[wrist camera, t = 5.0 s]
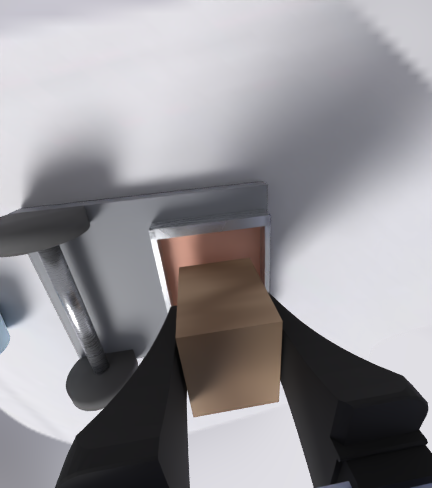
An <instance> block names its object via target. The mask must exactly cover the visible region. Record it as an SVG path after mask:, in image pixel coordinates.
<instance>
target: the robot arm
mask: <svg viewBox="0 0 432 488" xmlns="http://www.w3.org/2000/svg"><path fill="white" fill-rule="evenodd" d="M268 294H269V296H270V298H271V300H272V302H273V304H274V305H275V307H276V309H277V311H278V313H279V315H280V317H281V319H282V321H283V325H282V347H281V368H280V381H281V383H282V386H283V389H284V392H285V395H286V398H287V401H288V404H289V406H290V409H291V413H292V416H293V419H294V422H295V426H296V429H297V432H298V435H299V438H300V442H301V445H302V448H303V452H304V455H305V458H306V462H307V465H308V469H309V472H310V476H311V479H312V483H313V486H314V488H432V453H431V451H430V450H429V449H428V448H427V446H426V444H427V443H428V442H427V439H426V438H425V436H424V435H423V434H422V433H421V431H420V430H419V429H420V427H421V425H422V423H423V421H424V419H425V417H426V415H427V412H428V403H427V401H426V400H425V399H424V398H423V397H422V396H421V395H420V393H419V392H418V391H417V390H416V389H415V388H414V387H413V385H412V384H410V382H409V381H407V380H406V379H405V377H404V376H402V375H399V374H397V373H395V372H392V371H390V370H387V369H385V368H382V367H380V366H377V365H375V364H373V363H371V362H369V361H366V360H364V359H362V358H360V357H358V356H356V355H354V354H352V353H350V352H348V351H346V350H345V349H343V348H341V347H339V346H337V345H336V344H334V343H332V342H331V341H329V340H327V339H326V338H324V337H323V336H321V335H319V334H318V333H316V332H315V331H314V330H312V329H311V328H309V327H308V326H307V325H305V324H304V323H303V322H301V321H300V320H299V319H298V318H296V317H295V316H294V315H293V314H292V313H291V312H289V311H288V310H287V309H286V308H285V307H284V306H283V305H281V304H280V303H279V302H278V301H277V300H276V299H275V298H274V297H273V296H272V295H271V294H270V293H268ZM176 318H177V305H176V306H171V307H170V309H169V312H168V314H167V317H166V319H165V321H164V323H163V326H162V328H161V330H160V332H159V333H158V335H157V337H156V339H155V341H154V343H153V344H152V346H151V348H150V349H149V351H148V353H147V354H146V356H145V358H144V359H143V361H142V362H141V363H140V365H139V366H138V368H137V369H136V371H135V372H134V373H133V375H132V376H131V377H130V378H129V380H128V381H127V382H126V384H125V385H124V386H123V387H122V389H121V390H120V391H119V392H118V393H117V394H116V395H115V397H114V398H113V399H112V400H111V401H110V402H109V403H108V404H107V406H106V407H105V408H104V409H103V410H102V411H101V412H100V413H99V414H98V415H97V416H96V417H95V418H94V419H93V420H92V421H91V422H90V423H89V424H88V425H87V426H86V427H85V428H84V429H83V430H82V431H81V432H80V433H79V434H77V435H76V437H75V440H74V442H73V444H72V446H71V448H70V450H69V452H68V455H67V457H66V460H65V462H64V465H63V467H62V470H61V473H60V476H59V478H58V481H57V484H56V487H55V488H190V484H189V483H190V482H189V462H188V461H189V460H188V433H187V386H186V382H185V378H184V373H183V369H182V364H181V360H180V356H179V351H178V347H177V343H176Z"/></svg>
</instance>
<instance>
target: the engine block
mask: <svg viewBox="0 0 432 488" xmlns="http://www.w3.org/2000/svg"><path fill="white" fill-rule="evenodd" d="M282 325H283V321H282V319H281V317H280V315H279V313H278V311H277V309H276V307H275V305H274V304H273V302H272V300H271V298H270V296H269V294H268V292H267V290H266V288H265V286H264V284H263V282H262V281H261V279H260V277H259V275H258V273H257V271H256V269H255V267H254V265H253V263H252V261H251V259H250V258H243V259H236V260H228V261H221V262H214V263H207V264H199V265H192V266H185V267H179V278H178V298H177V318H176V343H177V347H178V351H179V356H180V360H181V364H182V369H183V373H184V378H185V382H186V386H187V391H188V395H189V399H190V404H191V408H192V412H193V417H198V416H204V415H209V414H215V413H220V412H226V411H231V410H237V409H242V408H248V407H253V406H259V405H264V404H270V403H275V402H279V389H280V368H281V347H282Z"/></svg>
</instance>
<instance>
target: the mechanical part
mask: <svg viewBox="0 0 432 488" xmlns="http://www.w3.org/2000/svg"><path fill="white" fill-rule="evenodd" d="M9 341H10V335H9V332H8V330H7V328H6V325H5V323H4V321H3V318H2V316H1V314H0V354H1V353H2V352H3V351H4V350H5V348H6V347H7V345H8V344H9Z"/></svg>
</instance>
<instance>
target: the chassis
mask: <svg viewBox="0 0 432 488" xmlns="http://www.w3.org/2000/svg"><path fill="white" fill-rule="evenodd" d="M270 224H271V215H270V214H269V213H268V212H267V184H266V183H264V182H253V183H244V184H235V185H226V186H217V187H208V188H200V189H191V190H182V191H173V192H164V193H155V194H146V195H137V196H129V197H120V198H111V199H102V200H93V201H84V202H75V203H67V204H58V205H49V206H40V207H31V208H22V209H18V210H16V211H14V212H12V213H9V214H8V215H5V216H2V217H0V257H10V256H18V255H24V254H28V255H29V258H30V260H31V262H32V264H33V266H34V268H35V270H36V272H37V274H38V276H39V278H40V280H41V282H42V284H43V286H44V288H45V290H46V292H47V294H48V296H49V298H50V300H51V302H52V304H53V306H54V308H55V310H56V312H57V314H58V316H59V318H60V320H61V322H62V324H63V326H64V328H65V330H66V332H67V334H68V336H69V338H70V340H71V342H72V344H73V346H74V348H75V350H76V352H77V354H78V356H79V358H80V359H79V360H78V361H77V363H76V364H75V365H74V366H73V368H72V369H71V371H70V373H69V375H68V377H67V381H66V390H67V393H68V395H69V396H70V398H71V400H72V401H73V403H74V405H75V406H76V407H78V408H79V409H81V410H85V411H96V410H100V409H103V408H105V407H106V406H107V404H108V403H109V402H110V401H111V400H112V399H113V398H114V397H115V395H116V394H117V393H118V392H119V391H120V390H121V389H122V387H123V386H124V385H125V384H126V382H127V381H128V380H129V378H130V377H131V376H132V375H133V373H134V372H135V371H136V369H137V368H138V362H137V359H136V358H142V357H145V356H146V354H147V353H148V351H149V349H150V348H151V346H152V344H153V343H154V341H155V339H156V337H157V335H158V333H159V332H160V330H161V328H162V326H163V323H164V321H165V319H166V317H167V314H168V312H169V309H170V307H171V306H176V305H177V298H178V278H179V267H185V266H192V265H199V264H207V263H214V262H221V261H228V260H236V259H243V258H250V259H251V261H252V263H253V265H254V267H255V269H256V271H257V273H258V275H259V277H260V279H261V281H262V282H263V284H264V286H265V288H266V290H267V292H268V293H269V287H270Z"/></svg>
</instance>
